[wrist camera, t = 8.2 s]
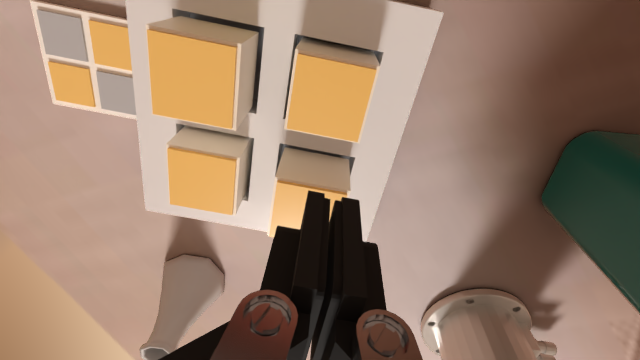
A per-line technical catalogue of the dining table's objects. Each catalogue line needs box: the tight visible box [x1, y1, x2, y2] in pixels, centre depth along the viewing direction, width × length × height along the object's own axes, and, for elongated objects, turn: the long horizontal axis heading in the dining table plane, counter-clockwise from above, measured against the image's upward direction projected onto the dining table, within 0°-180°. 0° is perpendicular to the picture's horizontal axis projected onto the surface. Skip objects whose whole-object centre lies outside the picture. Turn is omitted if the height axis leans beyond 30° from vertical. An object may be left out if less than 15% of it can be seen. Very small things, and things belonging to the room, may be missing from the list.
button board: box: [125, 0, 444, 242], centre depth 28 cm, size 20×20×4 cm
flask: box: [140, 255, 224, 360], centre depth 36 cm, size 7×7×10 cm
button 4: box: [166, 125, 253, 216], centre depth 27 cm, size 5×5×5 cm
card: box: [30, 0, 137, 120], centre depth 28 cm, size 8×8×1 cm
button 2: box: [267, 147, 351, 238], centre depth 26 cm, size 5×5×5 cm
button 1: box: [284, 37, 380, 144], centre depth 24 cm, size 5×5×5 cm
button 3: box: [146, 16, 259, 131], centre depth 22 cm, size 5×5×5 cm
